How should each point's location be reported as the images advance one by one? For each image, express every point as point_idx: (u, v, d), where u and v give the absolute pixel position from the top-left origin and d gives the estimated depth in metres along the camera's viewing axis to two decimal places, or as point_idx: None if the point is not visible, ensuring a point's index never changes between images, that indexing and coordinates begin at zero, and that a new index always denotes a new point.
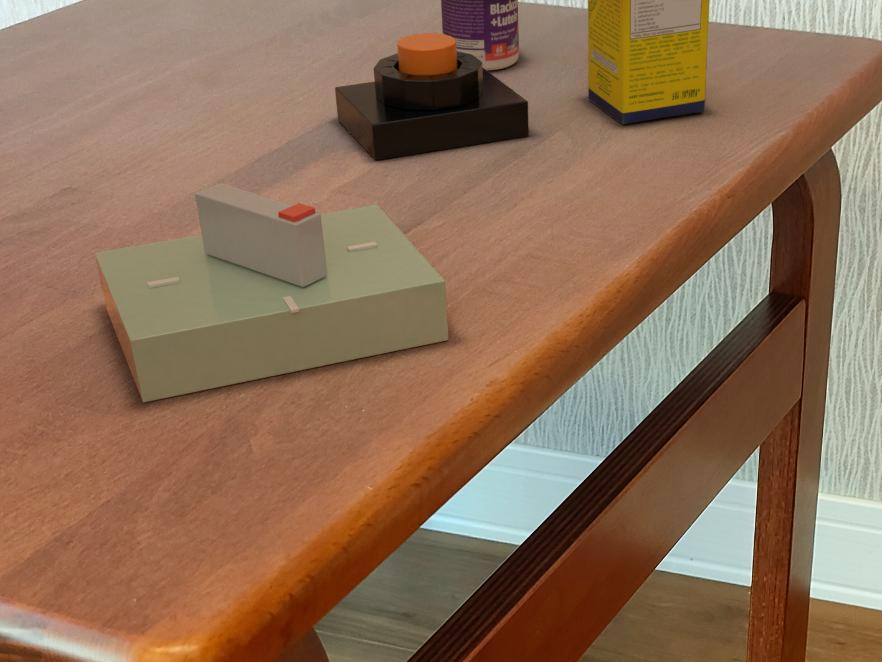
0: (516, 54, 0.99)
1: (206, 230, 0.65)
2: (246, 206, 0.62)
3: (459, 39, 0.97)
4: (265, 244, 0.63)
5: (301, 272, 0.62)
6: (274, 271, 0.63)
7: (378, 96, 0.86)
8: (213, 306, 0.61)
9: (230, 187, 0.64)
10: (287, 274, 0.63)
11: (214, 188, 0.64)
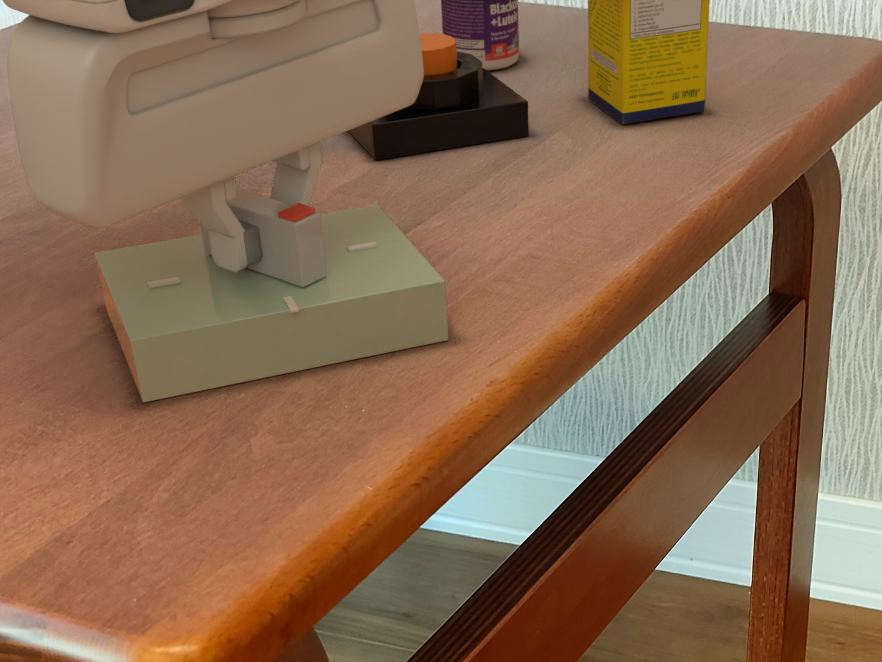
0: (516, 54, 0.99)
1: (206, 230, 0.65)
2: (246, 206, 0.62)
3: (459, 39, 0.97)
4: (265, 244, 0.63)
5: (301, 272, 0.62)
6: (274, 271, 0.63)
7: None
8: (213, 306, 0.61)
9: None
10: (287, 274, 0.63)
11: None
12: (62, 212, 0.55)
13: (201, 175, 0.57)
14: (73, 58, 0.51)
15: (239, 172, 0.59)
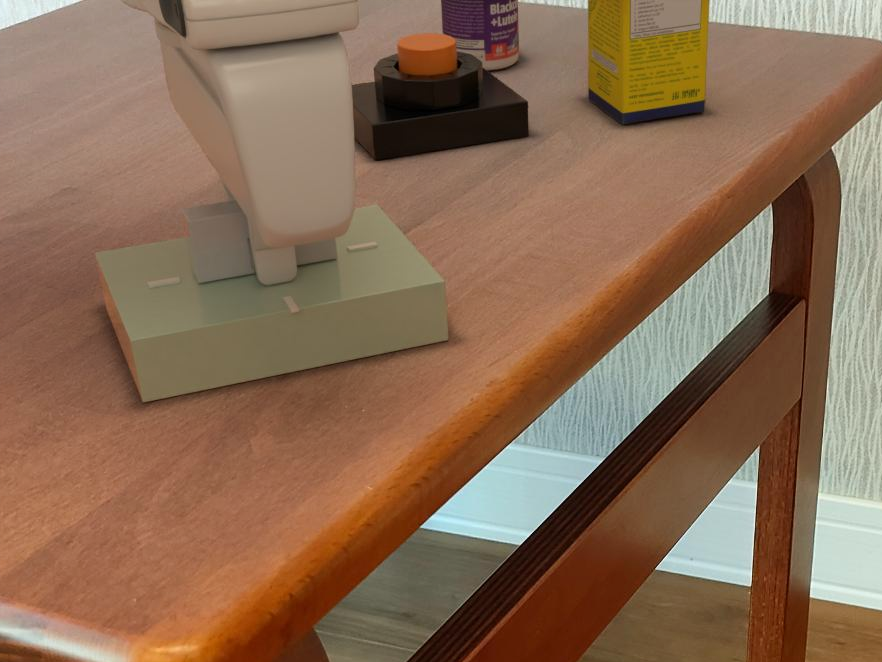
0: (516, 54, 0.99)
1: (203, 255, 0.62)
2: None
3: (459, 39, 0.97)
4: None
5: (334, 244, 0.65)
6: (300, 258, 0.64)
7: (378, 96, 0.86)
8: (213, 306, 0.61)
9: (200, 206, 0.63)
10: (317, 253, 0.64)
11: (191, 212, 0.62)
12: (318, 231, 0.54)
13: None
14: (329, 65, 0.52)
15: None
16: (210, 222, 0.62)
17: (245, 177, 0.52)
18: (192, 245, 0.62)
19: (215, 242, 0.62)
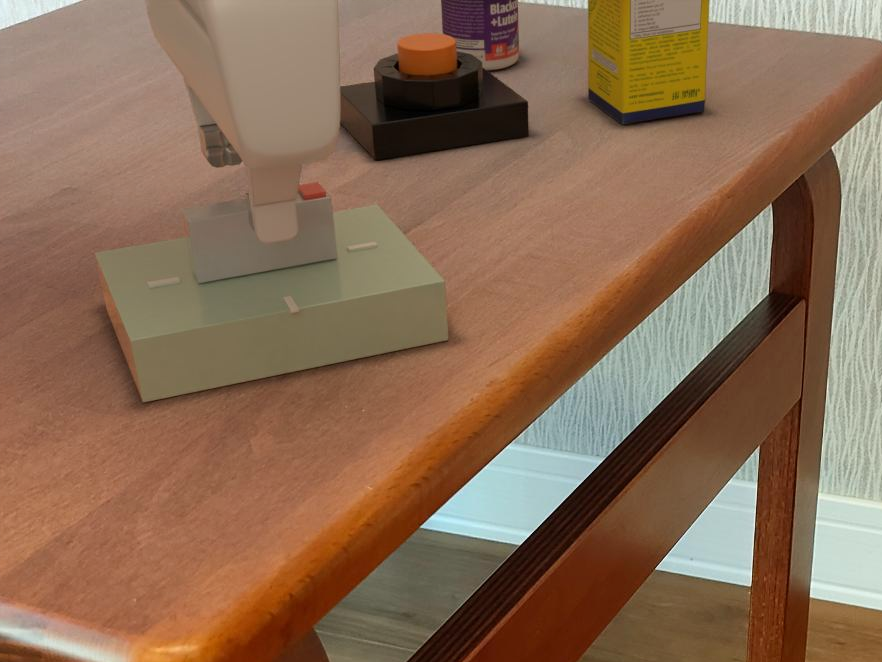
0: (516, 54, 0.99)
1: (203, 255, 0.62)
2: None
3: (459, 39, 0.97)
4: None
5: (334, 244, 0.65)
6: (300, 258, 0.64)
7: (378, 96, 0.86)
8: (213, 306, 0.61)
9: (200, 206, 0.63)
10: (317, 253, 0.64)
11: (191, 212, 0.62)
12: (301, 153, 0.53)
13: None
14: None
15: None
16: (210, 222, 0.62)
17: (227, 94, 0.51)
18: (192, 245, 0.62)
19: (215, 242, 0.62)
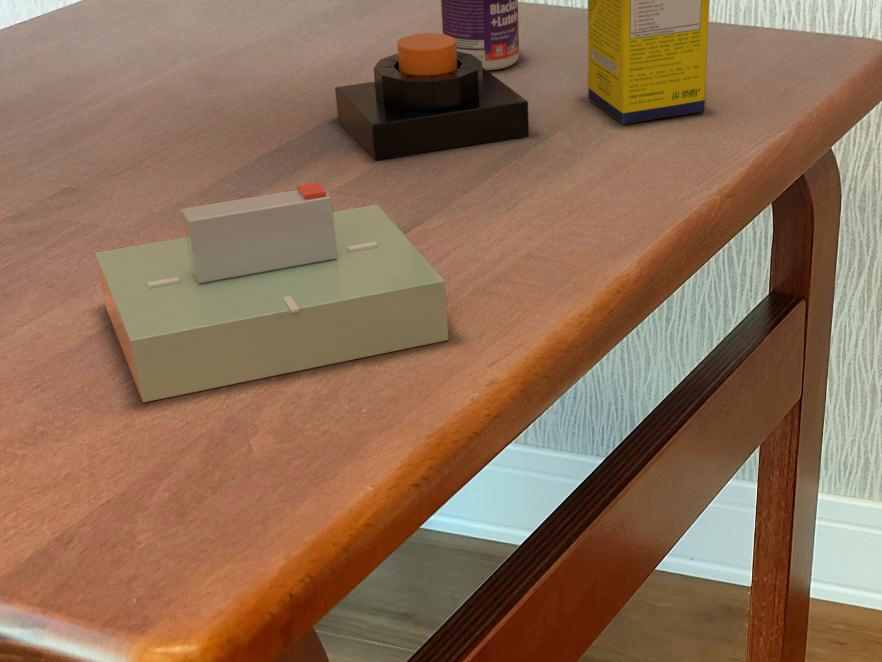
0: (516, 54, 0.99)
1: (203, 255, 0.62)
2: (259, 207, 0.62)
3: (459, 39, 0.97)
4: (290, 235, 0.63)
5: (334, 244, 0.65)
6: (300, 258, 0.64)
7: (378, 96, 0.86)
8: (213, 306, 0.61)
9: (200, 206, 0.63)
10: (317, 253, 0.64)
11: (191, 212, 0.62)
12: None
13: None
14: None
15: None
16: (210, 222, 0.62)
17: None
18: (192, 245, 0.62)
19: (215, 242, 0.62)
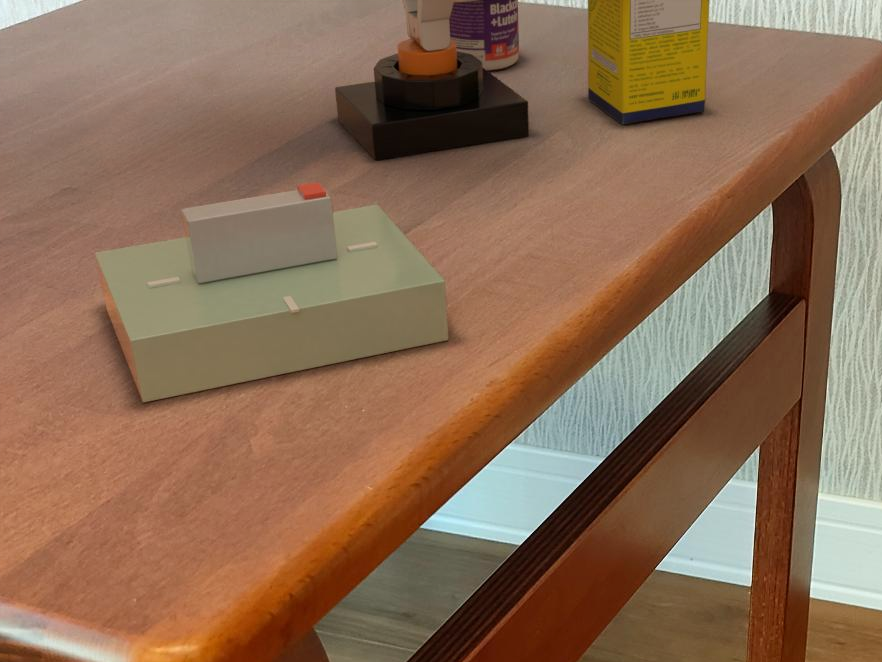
0: (516, 54, 0.99)
1: (203, 255, 0.62)
2: (259, 207, 0.62)
3: (459, 39, 0.97)
4: (290, 235, 0.63)
5: (334, 244, 0.65)
6: (300, 258, 0.64)
7: (378, 96, 0.86)
8: (213, 306, 0.61)
9: (200, 206, 0.63)
10: (317, 253, 0.64)
11: (191, 212, 0.62)
12: None
13: None
14: None
15: None
16: (210, 222, 0.62)
17: None
18: (192, 245, 0.62)
19: (215, 242, 0.62)
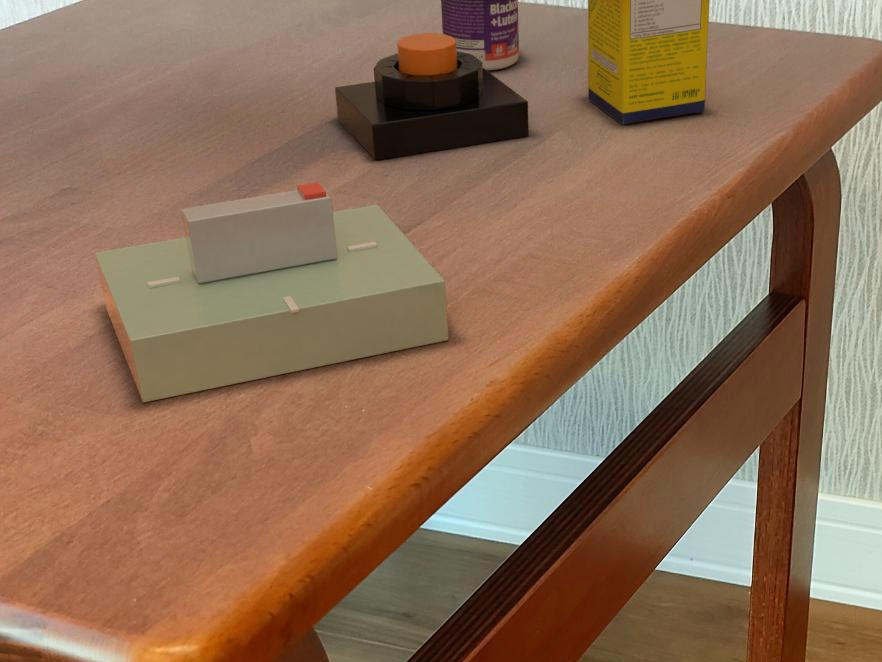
0: (516, 54, 0.99)
1: (203, 255, 0.62)
2: (259, 207, 0.62)
3: (459, 39, 0.97)
4: (290, 235, 0.63)
5: (334, 244, 0.65)
6: (300, 258, 0.64)
7: (378, 96, 0.86)
8: (213, 306, 0.61)
9: (200, 206, 0.63)
10: (317, 253, 0.64)
11: (191, 212, 0.62)
12: None
13: None
14: None
15: None
16: (210, 222, 0.62)
17: None
18: (192, 245, 0.62)
19: (215, 242, 0.62)
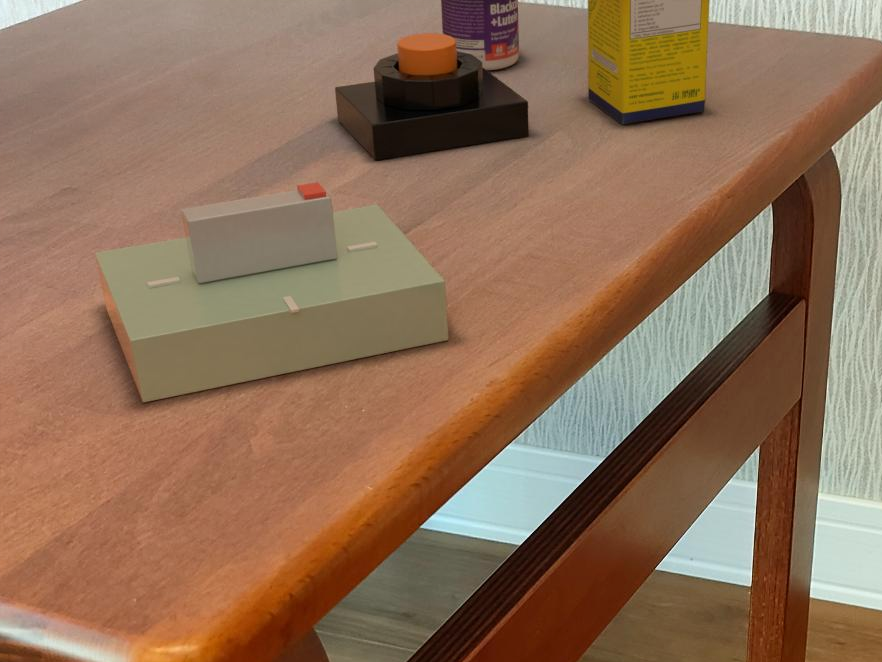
0: (516, 54, 0.99)
1: (203, 255, 0.62)
2: (259, 207, 0.62)
3: (459, 39, 0.97)
4: (290, 235, 0.63)
5: (334, 244, 0.65)
6: (300, 258, 0.64)
7: (378, 96, 0.86)
8: (213, 306, 0.61)
9: (200, 206, 0.63)
10: (317, 253, 0.64)
11: (191, 212, 0.62)
12: None
13: None
14: None
15: None
16: (210, 222, 0.62)
17: None
18: (192, 245, 0.62)
19: (215, 242, 0.62)
